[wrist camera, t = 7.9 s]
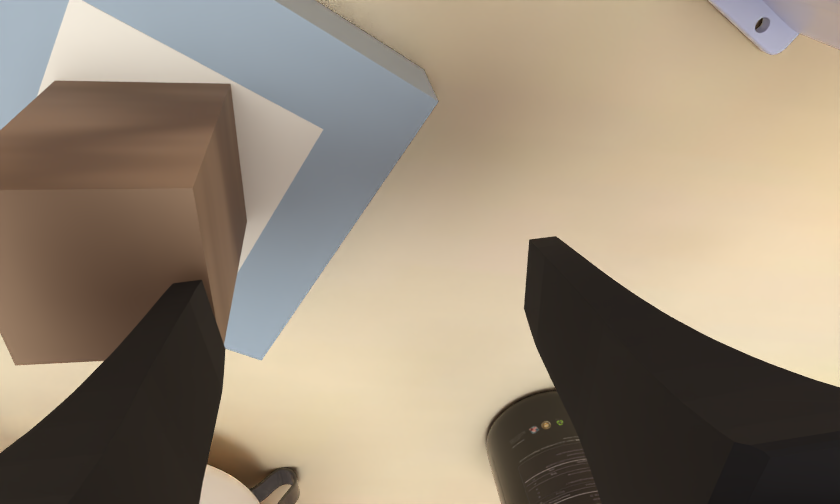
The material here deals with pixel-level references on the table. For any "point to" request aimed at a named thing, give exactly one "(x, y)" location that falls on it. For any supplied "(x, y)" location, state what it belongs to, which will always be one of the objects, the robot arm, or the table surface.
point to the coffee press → (232, 500)
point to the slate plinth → (247, 116)
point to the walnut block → (114, 212)
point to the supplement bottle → (539, 455)
